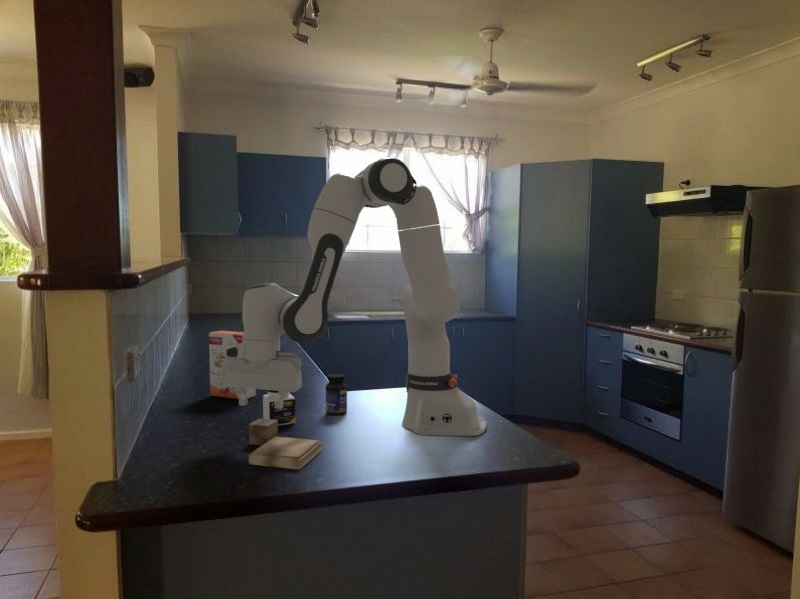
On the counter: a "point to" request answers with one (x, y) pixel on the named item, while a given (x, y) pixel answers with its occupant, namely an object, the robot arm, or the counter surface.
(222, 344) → the cracker box
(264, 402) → the medicine bottle
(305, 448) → the square wooden base
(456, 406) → the robot arm
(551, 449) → the counter surface
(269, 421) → the cube
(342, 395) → the pill bottle
